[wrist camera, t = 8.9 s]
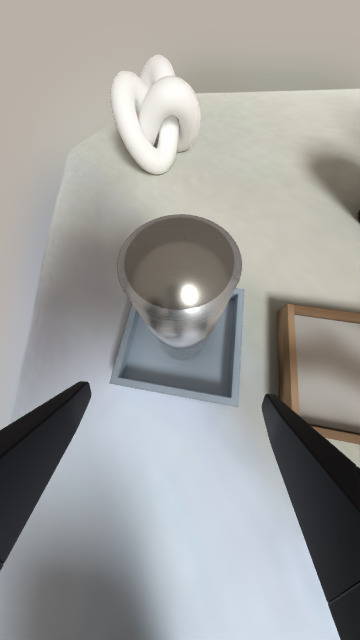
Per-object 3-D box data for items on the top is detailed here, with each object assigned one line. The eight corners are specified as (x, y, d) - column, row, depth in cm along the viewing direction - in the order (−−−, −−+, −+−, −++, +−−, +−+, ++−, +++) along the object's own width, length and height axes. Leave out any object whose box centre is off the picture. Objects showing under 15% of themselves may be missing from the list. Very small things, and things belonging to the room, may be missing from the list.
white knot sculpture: (166, 194, 26) (157, 105, 18) (107, 167, 29) (75, 78, 20) (206, 154, 29) (214, 62, 21) (149, 133, 32) (137, 43, 23)
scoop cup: (213, 350, 17) (266, 291, 6) (168, 367, 17) (133, 336, 6) (196, 309, 19) (212, 200, 8) (154, 323, 19) (105, 230, 7)
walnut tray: (416, 451, 15) (451, 461, 13) (279, 425, 16) (292, 431, 14) (387, 326, 18) (409, 320, 17) (277, 311, 19) (287, 303, 17)
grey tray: (232, 404, 16) (238, 407, 14) (117, 383, 17) (109, 383, 15) (238, 298, 20) (244, 289, 18) (144, 285, 21) (140, 275, 19)
